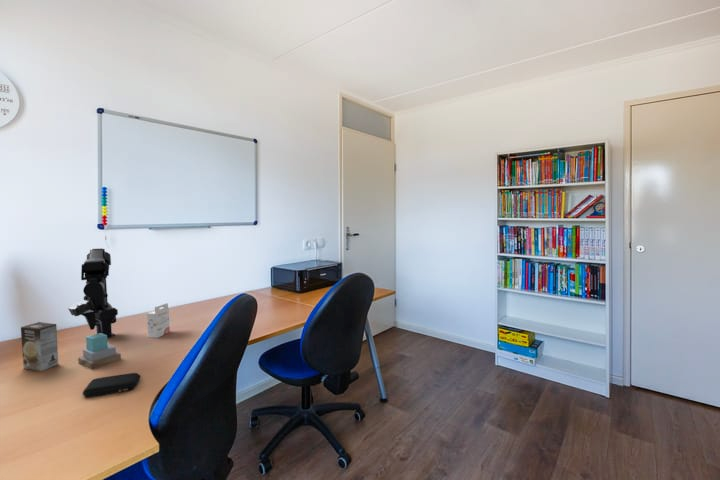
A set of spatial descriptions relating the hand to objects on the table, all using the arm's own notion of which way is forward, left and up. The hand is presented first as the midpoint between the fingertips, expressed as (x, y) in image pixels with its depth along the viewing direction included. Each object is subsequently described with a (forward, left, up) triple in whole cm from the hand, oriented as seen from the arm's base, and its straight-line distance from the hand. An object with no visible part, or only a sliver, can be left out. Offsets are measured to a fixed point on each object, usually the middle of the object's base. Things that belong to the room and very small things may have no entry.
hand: (98, 331), depth 134 cm
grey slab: (+1, 0, -10) cm, 10 cm away
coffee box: (-14, -13, -12) cm, 23 cm away
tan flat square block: (+1, 0, -13) cm, 13 cm away
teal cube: (0, -1, -6) cm, 7 cm away
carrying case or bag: (+28, -9, -12) cm, 32 cm away
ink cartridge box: (-9, +29, -12) cm, 32 cm away
